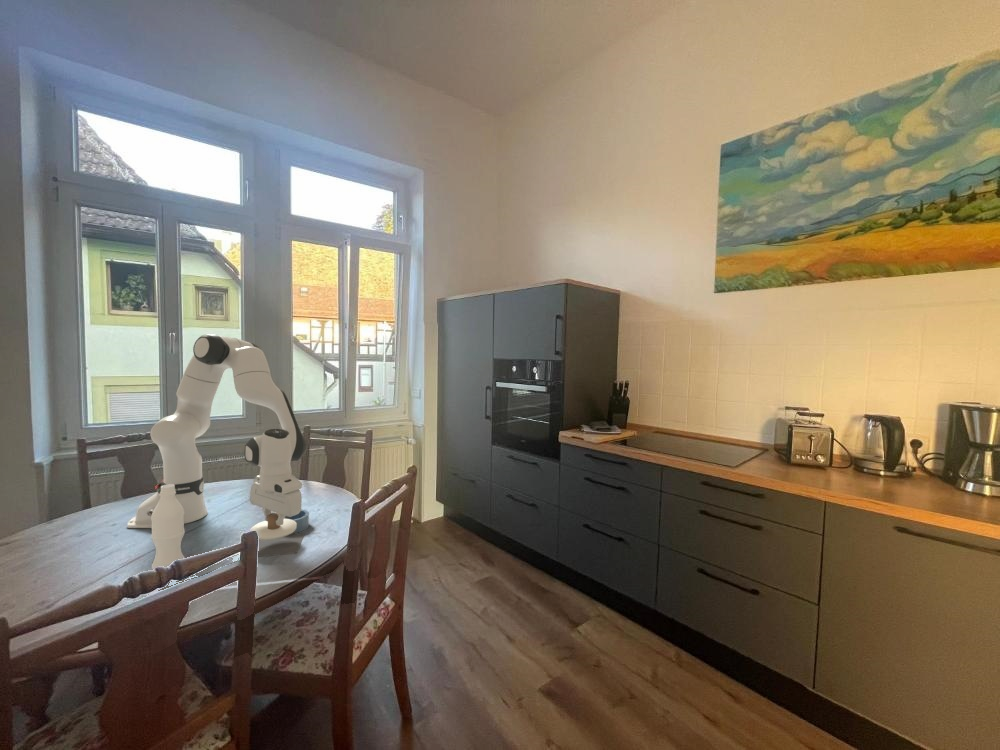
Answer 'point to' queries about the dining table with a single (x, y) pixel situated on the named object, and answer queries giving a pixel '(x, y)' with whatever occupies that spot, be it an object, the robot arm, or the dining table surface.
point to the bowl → (300, 520)
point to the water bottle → (167, 527)
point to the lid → (274, 528)
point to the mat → (280, 545)
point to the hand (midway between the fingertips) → (274, 523)
